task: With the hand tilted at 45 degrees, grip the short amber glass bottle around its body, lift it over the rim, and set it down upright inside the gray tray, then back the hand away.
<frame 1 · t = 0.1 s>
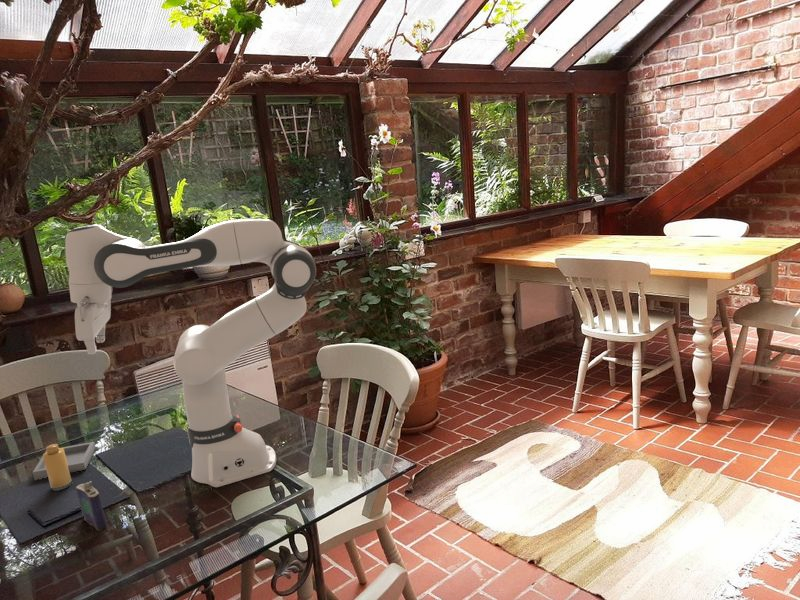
hand: (96, 347, 148), 39 cm above the table, tool pointing down, fingers open, 8 cm apart
gray tray: (66, 464, 174), on the table
amber bottle: (61, 486, 162), on the table
flask: (96, 523, 144), on the table
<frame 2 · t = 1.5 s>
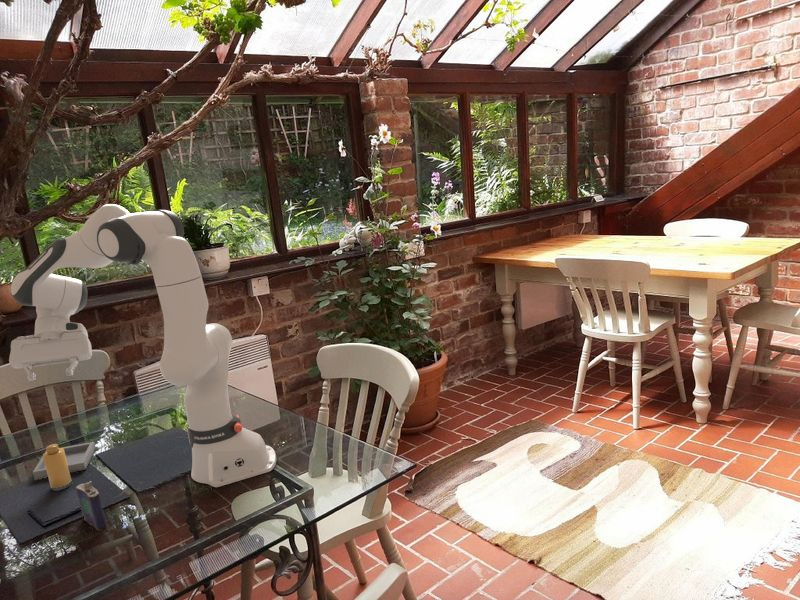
hand: (50, 377, 166), 27 cm above the table, tool tilted 45°, fingers open, 8 cm apart
nothing on the table moved.
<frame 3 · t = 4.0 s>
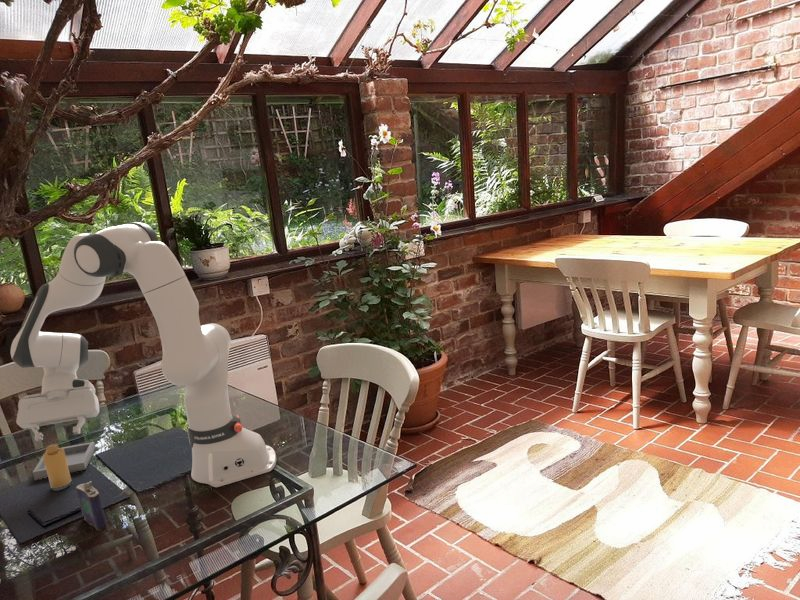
hand: (57, 436, 164), 12 cm above the table, tool tilted 45°, fingers open, 8 cm apart
nothing on the table moved.
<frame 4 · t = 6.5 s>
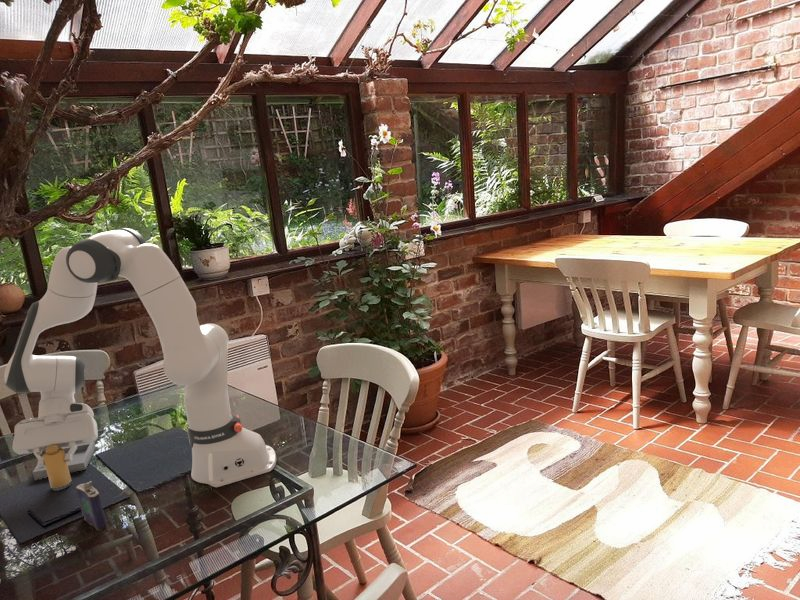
hand: (55, 463, 159), 7 cm above the table, tool tilted 45°, fingers closed on amber bottle, 5 cm apart
amber bottle: (61, 486, 162), on the table, touching gripper
everything else where it was.
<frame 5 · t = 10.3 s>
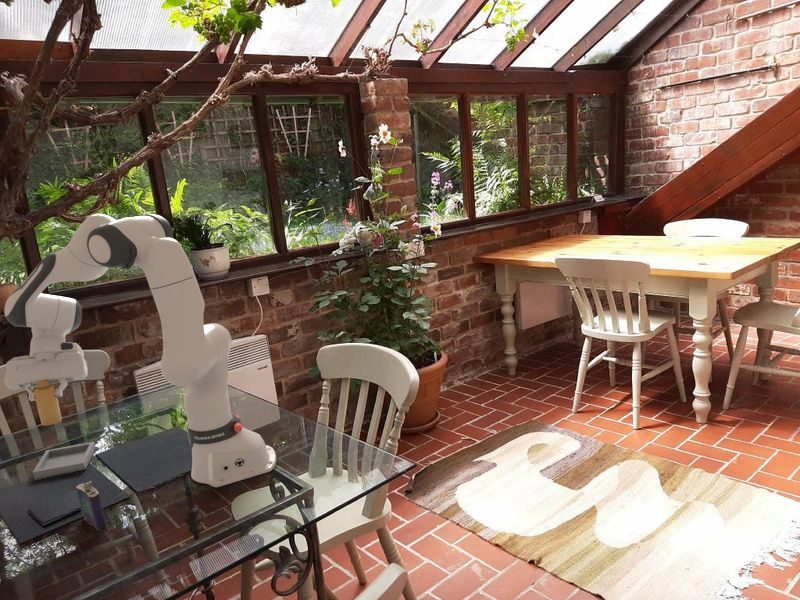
hand: (45, 398, 165), 22 cm above the table, tool tilted 45°, fingers closed on amber bottle, 5 cm apart
amber bottle: (51, 421, 167), point 15 cm above the table, touching gripper
everything else where it was.
when the fingers open (10 cm above the table, at t = 14.3 s): amber bottle drops 1 cm, resting on gray tray.
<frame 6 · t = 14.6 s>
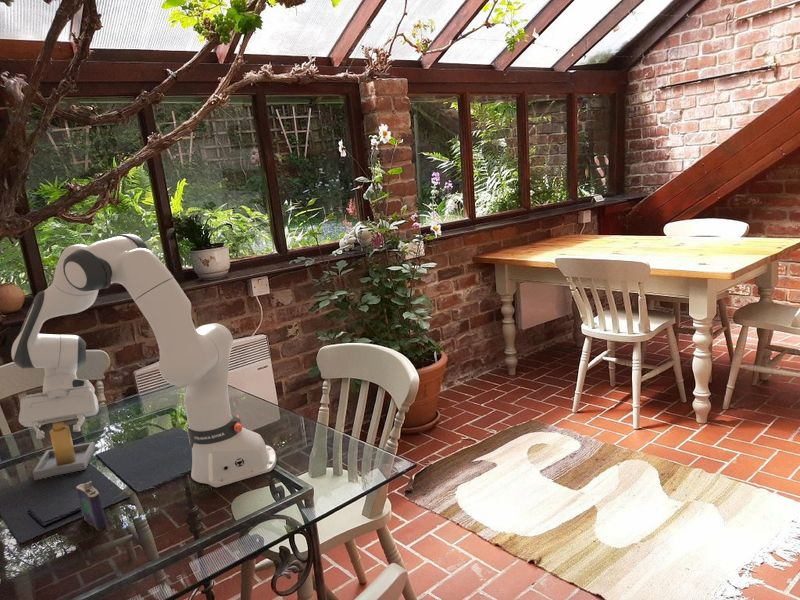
hand: (58, 434, 171), 10 cm above the table, tool tilted 45°, fingers open, 8 cm apart
amber bottle: (66, 461, 173), point 1 cm above the table, touching gray tray
everything else where it was.
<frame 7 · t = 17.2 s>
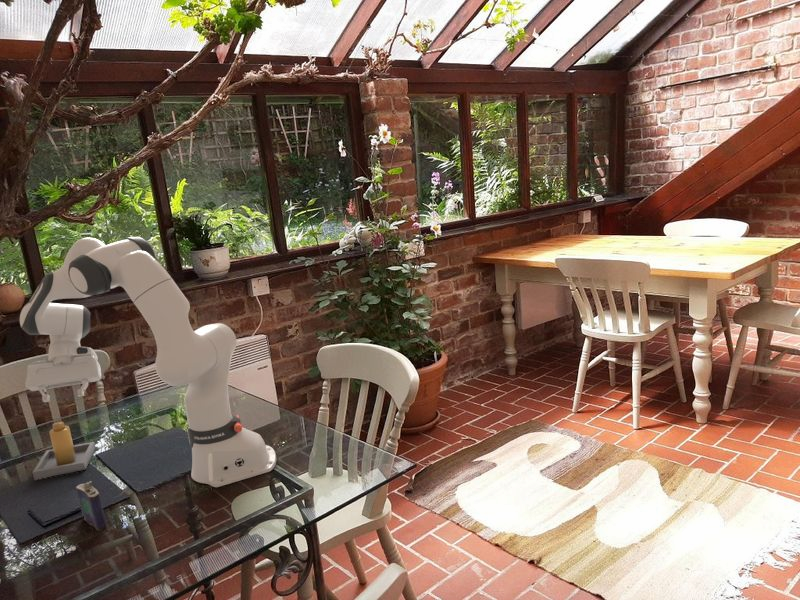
hand: (63, 398, 179), 16 cm above the table, tool tilted 45°, fingers open, 8 cm apart
nothing on the table moved.
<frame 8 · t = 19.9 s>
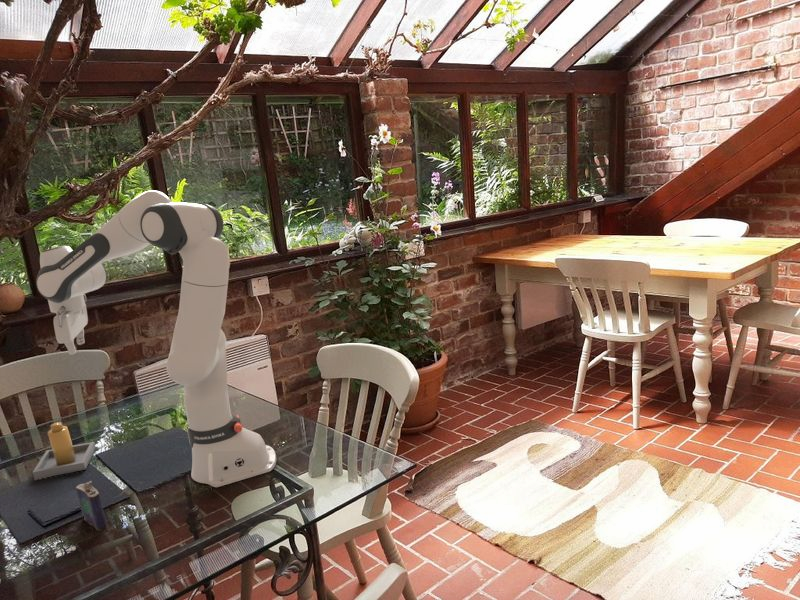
hand: (77, 348, 176), 31 cm above the table, tool pointing down, fingers open, 8 cm apart
nothing on the table moved.
at the end: amber bottle 0.2 cm off-centre on the gray tray, point 0.9 cm above the gray tray's base; amber bottle tilted 2°; the gripper is holding nothing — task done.
